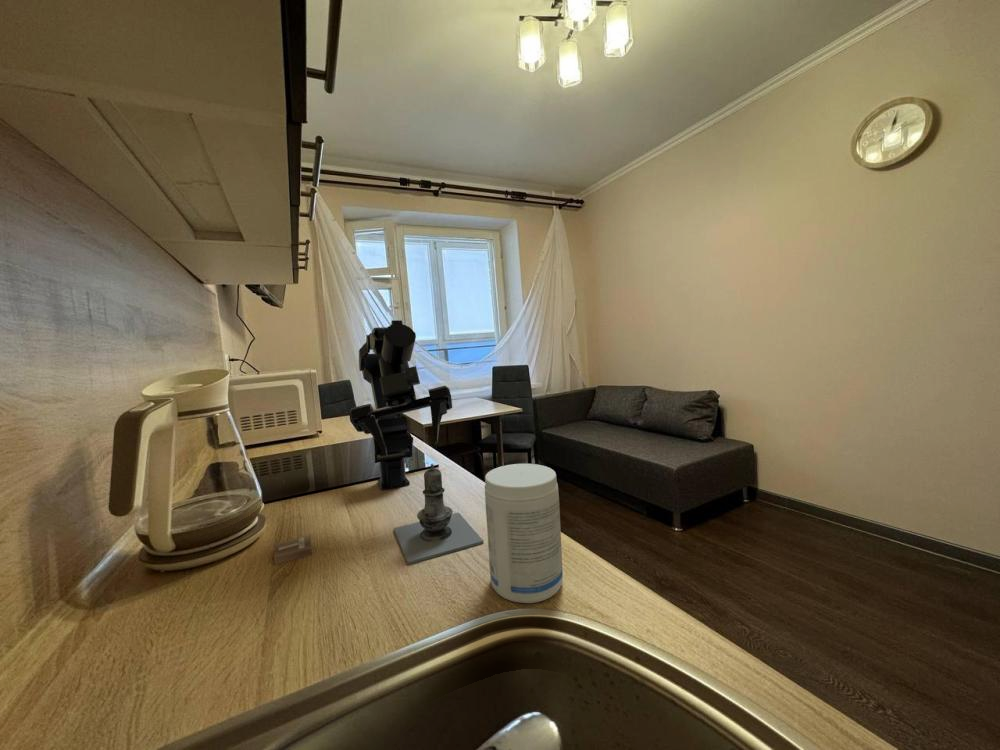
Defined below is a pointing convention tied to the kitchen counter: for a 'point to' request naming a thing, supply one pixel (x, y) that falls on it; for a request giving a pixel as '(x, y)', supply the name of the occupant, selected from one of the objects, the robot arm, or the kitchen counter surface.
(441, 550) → the slate mat
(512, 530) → the supplement tub
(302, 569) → the kitchen counter surface
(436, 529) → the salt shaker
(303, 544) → the letter tile
